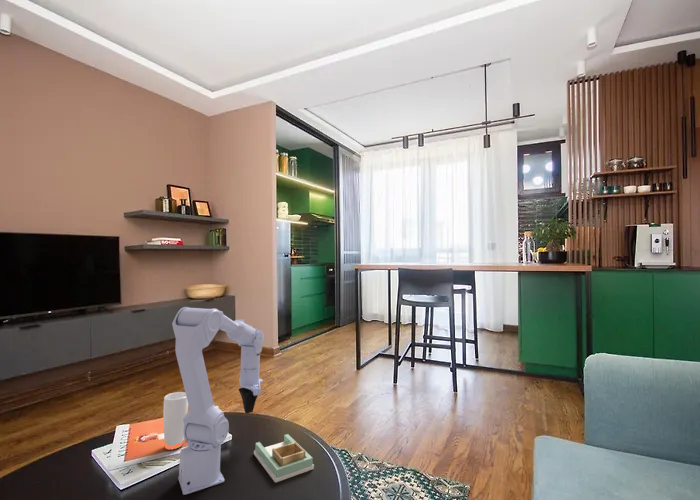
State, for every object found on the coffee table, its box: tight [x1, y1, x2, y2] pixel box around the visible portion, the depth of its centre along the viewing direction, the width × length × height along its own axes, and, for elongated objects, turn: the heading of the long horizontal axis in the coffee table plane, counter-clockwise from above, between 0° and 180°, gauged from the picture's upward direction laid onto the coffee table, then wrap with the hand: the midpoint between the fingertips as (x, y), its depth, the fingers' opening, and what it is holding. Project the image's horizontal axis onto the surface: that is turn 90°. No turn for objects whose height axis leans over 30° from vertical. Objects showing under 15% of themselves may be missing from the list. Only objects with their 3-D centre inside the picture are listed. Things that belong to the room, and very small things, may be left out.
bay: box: [253, 433, 315, 483], centre depth 96 cm, size 11×16×3 cm
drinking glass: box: [162, 391, 189, 445], centre depth 103 cm, size 7×7×15 cm
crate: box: [272, 441, 306, 466], centre depth 93 cm, size 7×6×4 cm
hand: (248, 412), depth 106 cm, fingers closed
